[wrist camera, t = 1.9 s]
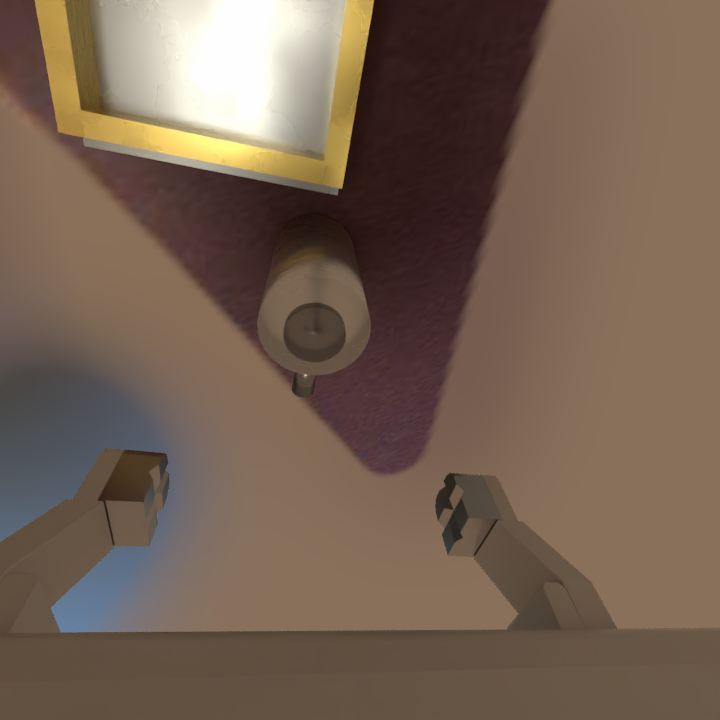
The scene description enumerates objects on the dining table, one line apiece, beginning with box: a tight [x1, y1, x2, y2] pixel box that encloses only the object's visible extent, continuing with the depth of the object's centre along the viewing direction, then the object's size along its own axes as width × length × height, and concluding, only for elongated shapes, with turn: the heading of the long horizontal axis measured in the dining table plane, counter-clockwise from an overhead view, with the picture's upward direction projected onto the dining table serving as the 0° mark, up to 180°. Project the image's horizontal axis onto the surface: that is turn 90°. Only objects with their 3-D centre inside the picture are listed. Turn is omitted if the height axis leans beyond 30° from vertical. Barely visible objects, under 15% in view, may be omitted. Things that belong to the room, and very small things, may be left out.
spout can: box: [257, 214, 371, 397], centre depth 23 cm, size 7×5×11 cm
